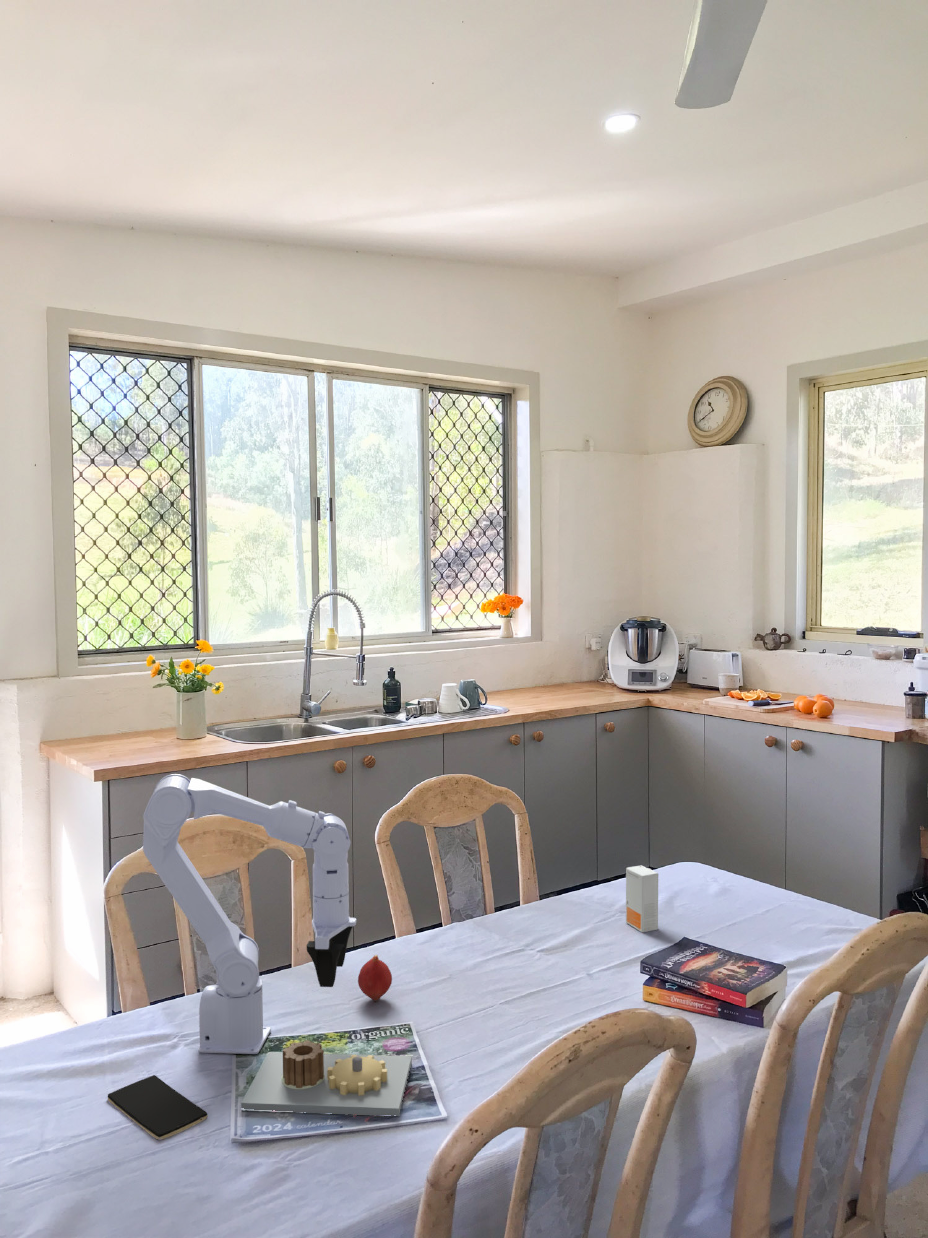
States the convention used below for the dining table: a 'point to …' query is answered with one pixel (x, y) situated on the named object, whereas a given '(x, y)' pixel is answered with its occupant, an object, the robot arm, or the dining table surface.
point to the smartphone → (157, 1107)
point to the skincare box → (642, 898)
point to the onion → (374, 978)
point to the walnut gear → (303, 1064)
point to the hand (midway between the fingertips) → (331, 975)
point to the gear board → (334, 1086)
